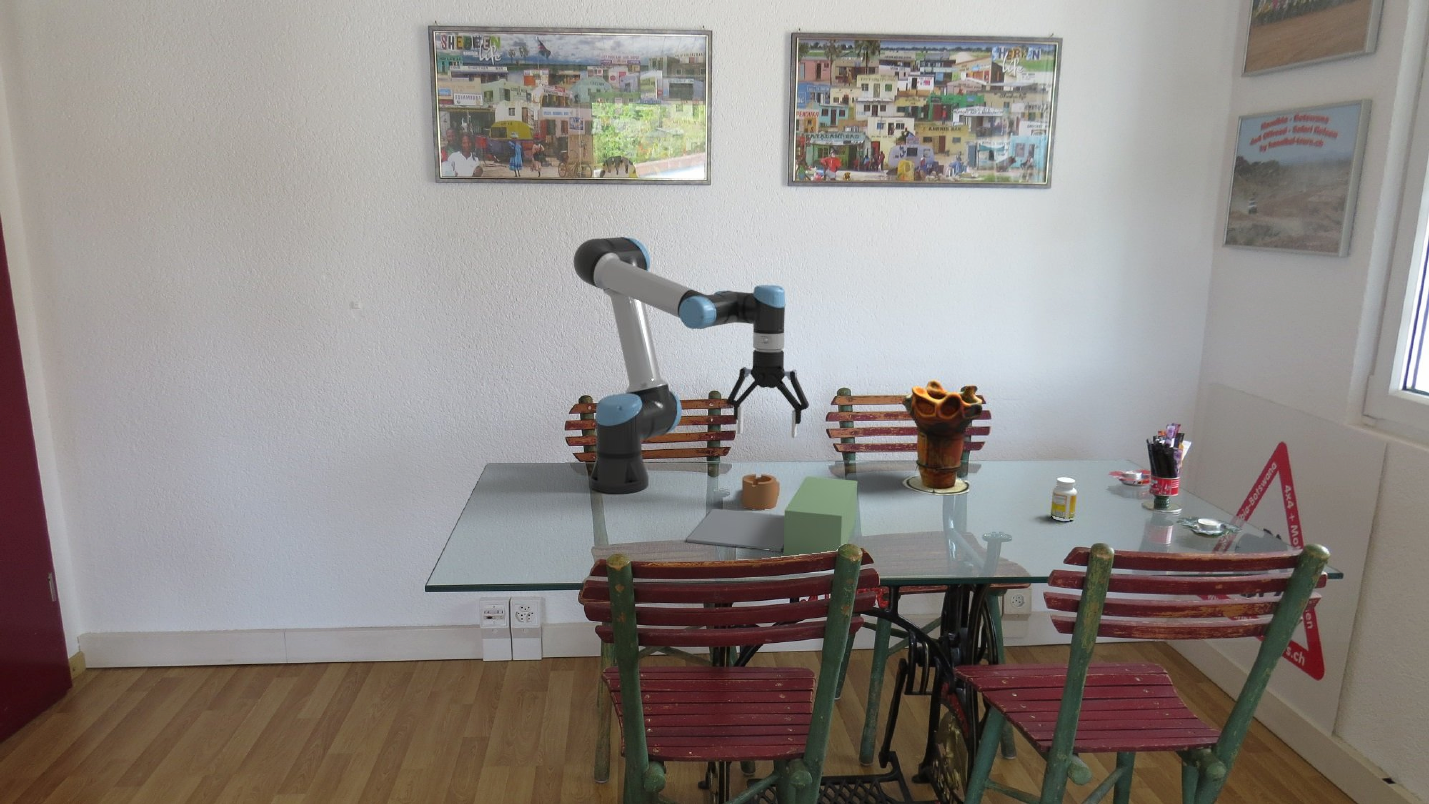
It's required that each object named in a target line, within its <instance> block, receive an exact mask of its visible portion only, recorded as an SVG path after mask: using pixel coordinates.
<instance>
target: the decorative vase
mask: <svg viewBox="0 0 1429 804" xmlns="http://www.w3.org/2000/svg"><path fill="white" fill-rule="evenodd" d="M976 392H978V386H976V385H974V384H969V385H967V386H965V388H964V391H959V392H952V391H951V392H950V391H949V392H948V391H947V390H946V389H944V388H943V387H942V385H941V383H940V382H939V381H938V380H935V379H931V380H929V381H928V383H927V385H926V386H925V388H923V387H921V386H913V387H912V388H911V393H909V394H907V395H905V396H904V397H903V399H902V402H901V404H902V406H904V408H905V410H906V413H907V415H908V416H910V417H911V419H912V420H913V422H914V423H915V425H916V433H917V437H916V438H917V440H916V453H917V460H915V463H916V468H915V470H914V472H916V471H917V469H918V472H919V475H913V476H909V477H907V478H905V479H904V480H903V481H902V482H901V484H903V486H904V487H906V488H907V489H909V490H913V491H916V492H919V493H923V494H928V495H936V496H944V495H947V496H948V495H949V496H952V495H963V494H966V493H968V492H970V489H969V487H970V482H969V481H968V480H962V479H961V478H957V474H958V471H959V470H960V468H961V467H962V469H963V472H964V468H963V466H962V465H963V464H962V462H961V459H962V456H963V455H962V454H963V451H964V443H965V435H966V432H967V431H966V430H967V428H968V427H969V426H970V424H971V423H972V422H973V421H974V420H976V419H979V418H980V417H981V416H982V415H983V405H982V404H983V400H982V399H981V398H979V397H978V396H976Z"/></svg>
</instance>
